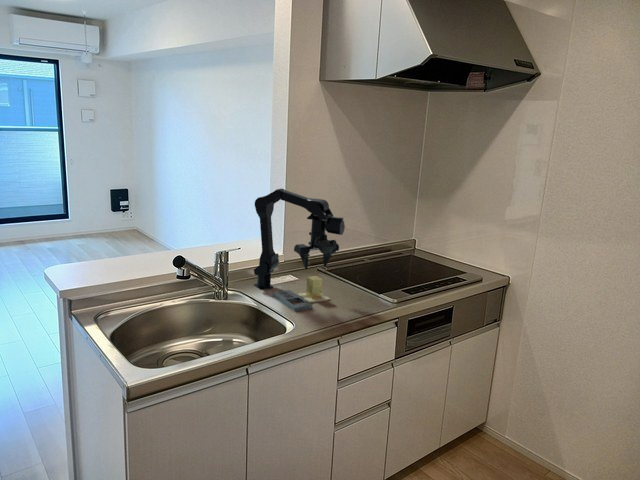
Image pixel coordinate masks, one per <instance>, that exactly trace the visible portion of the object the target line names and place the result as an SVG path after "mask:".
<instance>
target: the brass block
mask: <svg viewBox="0 0 640 480" xmlns="http://www.w3.org/2000/svg"><path fill="white" fill-rule="evenodd" d="M322 285H323V278H321V277H319V276H318V275H313V276H307V277H306V289H305V291H306V295H307V296H308V297H310V298H311V299H314V298H319V297H321V293H322Z"/></svg>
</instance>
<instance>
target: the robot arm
mask: <svg viewBox="0 0 640 480" xmlns="http://www.w3.org/2000/svg"><path fill="white" fill-rule="evenodd" d="M279 201H284V202H287V203H289V204H291V205H292V204H293V205H295V206H298V207H301V208H303V209H305V210H306V211H307V212H309V213H310V215H308V216H307V217H306V219H307V220H311V228H310V229H311V231H310V232H309V233H308V235H309V236H310V241H308V245H306V244H304V243H299V244H298V243H297V244H295V245H294V248H293V251H294V252H295V253H296V254H298V255H299V257H300V258H301V259H300V260H301V261H302V264H303V267H304V269H305V270H308V266H309V257H310V256H311V254H309V253H310V251H317V250H318V251H319V252H320V253H321V254H322V261H323V262H322V263H323V268H326V267H327V266H328V263H329V262H330V258H331V257H332V255H334V254H336V253H337V252H339V251H340V245H339V244H338V243H337V240H336V239H330V240H329V239H328V234H334V235H341V236H343V234H344V232H345V227H346V225H345V221H344V217H341V216H339V217H338V216H334V213H333V212H332V211H331V208H330V204H329V203H328V201H327V200H326V199H323V198H322V199H321V198H312V197H307V196H304V195H301V194H297V193H295V192H292V191H289V190H286V189H284V188H278V189H275V190H274V191H272V192H271V193H267V195H264V196H260V197H257V198H256V199H255V201H254V208H255V212H256V214H257V216H258V217H259V224H260V225H259V228H260V238H261V239H260V241H261V253H260V257H259V260H258V261H259V265H258V266H257V267H256V268H253V273H254V275H255V276H257V278H256V283H253V286H254V287H256V288H257V289H259V290H265V289H273V288H274V286H273V285H271V278H272V277H271V276H272V275H271V273H273V272H275V271H274V270H275V269H276V268H278V265H279V263H280V260H279V255H280V254H279V253H276V252H275V249H274V240H273V228H272V227H273V225H272V216H273V213H274V209H275V208H274V206H275V204H276V203H278V202H279ZM326 232H327V233H328V234H326Z"/></svg>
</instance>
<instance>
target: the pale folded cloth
mask: <svg viewBox="0 0 640 480" xmlns="http://www.w3.org/2000/svg"><path fill="white" fill-rule="evenodd" d="M297 295H298V296H300V297H301V298H303V299H304V300H306V301H307V302H309V303H311V304H313V303H314V304H315V303H319V302H326V301H330V300H331V297H328V296H327V295H325V294H324V293H322V292H321V297H319V298H314V299H311V298H310V297H308V296H307V295H306V292H299V293H297Z"/></svg>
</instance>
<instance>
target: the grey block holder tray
mask: <svg viewBox="0 0 640 480" xmlns="http://www.w3.org/2000/svg"><path fill="white" fill-rule="evenodd" d="M297 294H298V293H297ZM297 294H296V293H295V292H293V291H292V290H290V289H286V290H280V291H274V292H272V297H273V298H274V299H276V300H277V301H278V302H280V303H282V304H283V305H285V306H286V307H287V308H288V309H290V310H292V311H293V312H300V311H306V310H311V309H313V303H309V302H307V301H306V300H304V299H303V298H301V297H300V296H298V295H297ZM294 302H299V303H296V304H293V303H294Z"/></svg>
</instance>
